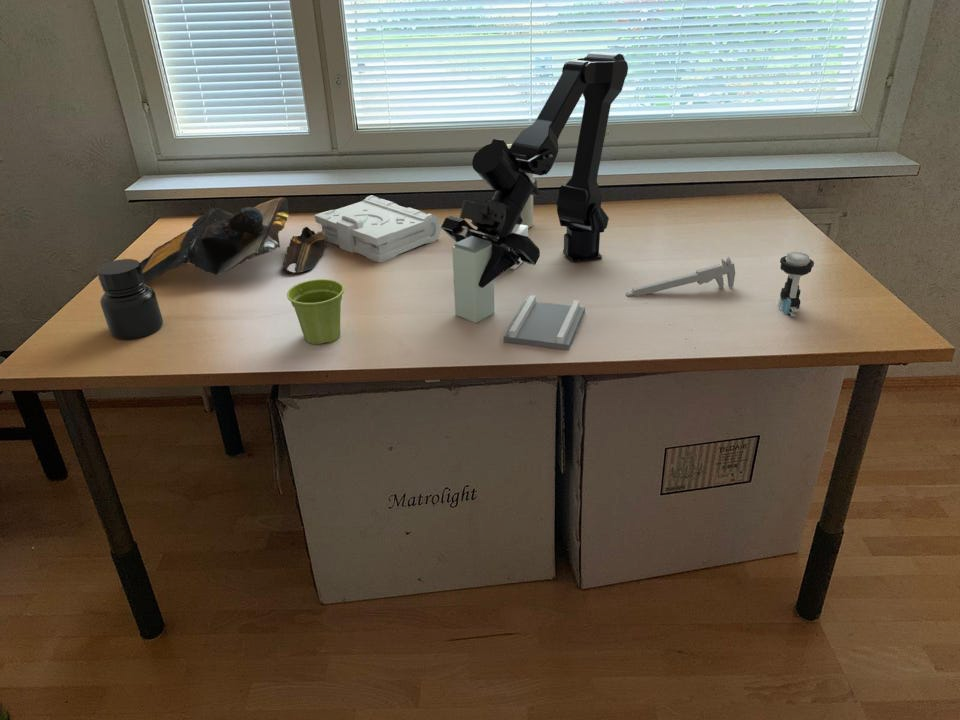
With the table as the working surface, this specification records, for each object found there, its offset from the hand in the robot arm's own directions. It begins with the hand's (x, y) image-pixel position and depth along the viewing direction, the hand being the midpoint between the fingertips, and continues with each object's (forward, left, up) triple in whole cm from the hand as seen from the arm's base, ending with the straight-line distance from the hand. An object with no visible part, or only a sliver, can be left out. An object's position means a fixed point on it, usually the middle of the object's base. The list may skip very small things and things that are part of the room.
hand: (468, 282), depth 124 cm
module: (-1, -1, -7) cm, 7 cm away
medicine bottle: (-13, -22, -7) cm, 27 cm away
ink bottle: (+58, -13, -7) cm, 60 cm away
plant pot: (+26, 0, -7) cm, 27 cm away
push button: (-54, +15, -7) cm, 57 cm away
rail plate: (-12, +8, -7) cm, 15 cm away
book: (+12, -46, -7) cm, 48 cm away
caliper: (-40, +2, -7) cm, 41 cm away
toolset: (+43, -43, -7) cm, 61 cm away
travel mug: (-21, -42, -7) cm, 48 cm away
